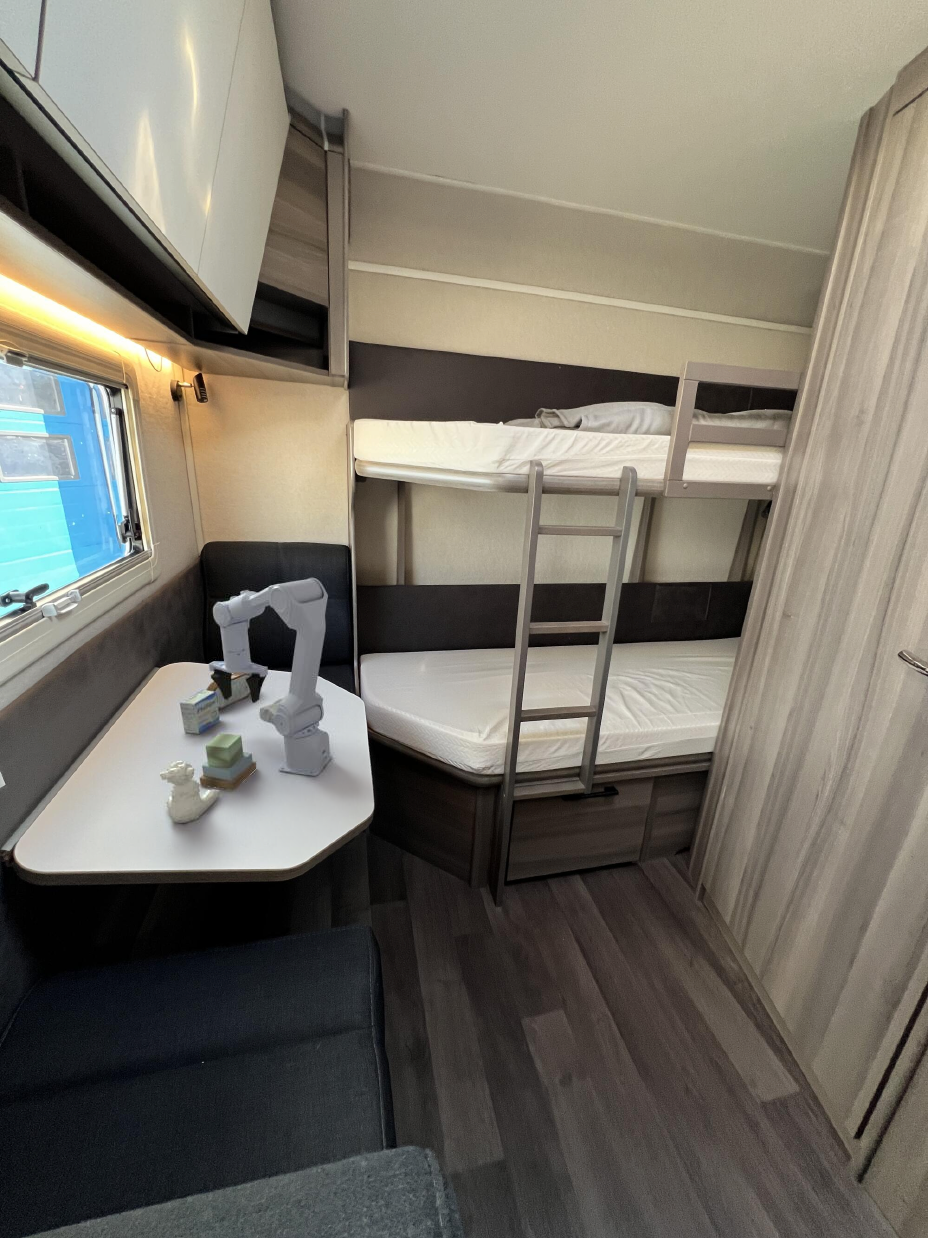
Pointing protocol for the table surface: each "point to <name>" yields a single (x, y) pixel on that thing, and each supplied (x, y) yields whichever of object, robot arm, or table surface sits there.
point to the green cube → (224, 750)
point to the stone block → (269, 712)
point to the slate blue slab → (228, 772)
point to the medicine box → (199, 711)
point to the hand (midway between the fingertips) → (241, 699)
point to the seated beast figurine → (186, 793)
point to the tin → (238, 690)
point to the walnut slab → (225, 783)
